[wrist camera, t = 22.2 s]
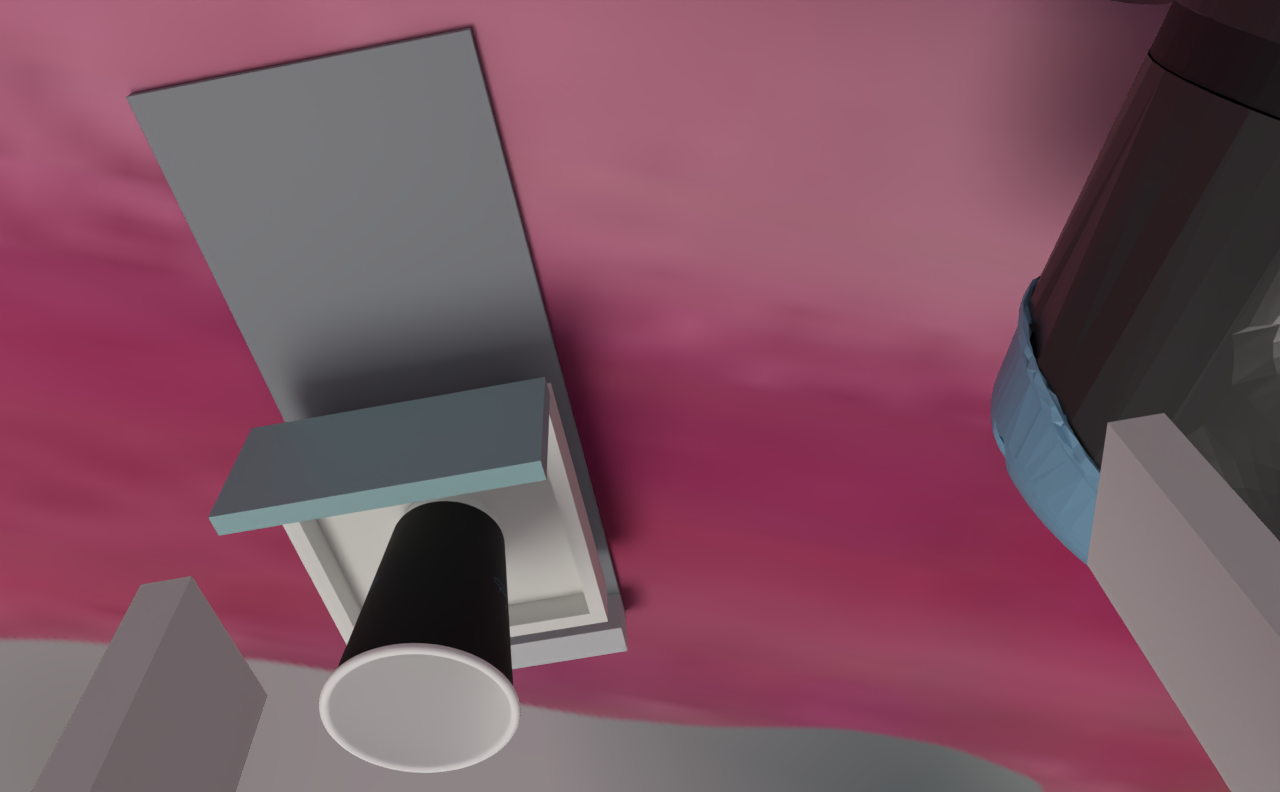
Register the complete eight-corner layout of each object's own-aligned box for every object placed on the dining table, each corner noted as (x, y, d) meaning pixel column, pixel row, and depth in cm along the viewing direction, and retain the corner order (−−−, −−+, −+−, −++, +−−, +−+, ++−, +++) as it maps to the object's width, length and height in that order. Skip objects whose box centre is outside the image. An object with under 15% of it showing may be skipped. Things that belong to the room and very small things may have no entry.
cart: (547, 342, 44) (540, 460, 36) (605, 560, 52) (610, 692, 45) (269, 391, 44) (208, 517, 37) (371, 598, 53) (337, 735, 45)
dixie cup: (335, 509, 45) (274, 698, 36) (469, 440, 43) (440, 621, 34) (435, 604, 49) (403, 796, 40) (561, 545, 47) (558, 731, 38)
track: (470, 27, 36) (463, 46, 34) (625, 611, 56) (627, 650, 53) (130, 94, 37) (98, 117, 35) (399, 647, 56) (391, 688, 54)
